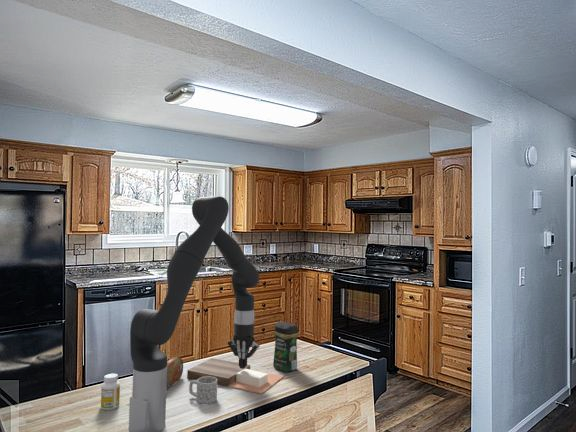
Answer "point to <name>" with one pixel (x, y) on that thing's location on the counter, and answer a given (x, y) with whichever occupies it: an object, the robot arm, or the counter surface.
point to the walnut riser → (216, 371)
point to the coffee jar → (285, 346)
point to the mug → (205, 390)
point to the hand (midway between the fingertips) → (242, 367)
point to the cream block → (252, 377)
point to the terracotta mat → (271, 381)
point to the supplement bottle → (110, 392)
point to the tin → (174, 370)
